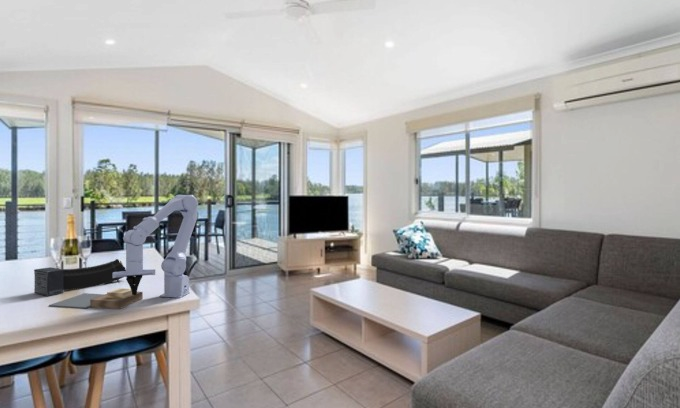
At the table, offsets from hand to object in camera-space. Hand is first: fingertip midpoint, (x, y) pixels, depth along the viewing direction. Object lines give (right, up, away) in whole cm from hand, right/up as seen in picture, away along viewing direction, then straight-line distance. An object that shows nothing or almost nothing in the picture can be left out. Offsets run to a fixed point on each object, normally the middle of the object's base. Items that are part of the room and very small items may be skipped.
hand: (134, 294), depth 137 cm
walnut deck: (-7, -4, +1) cm, 8 cm away
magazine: (-35, -3, +24) cm, 43 cm away
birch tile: (-6, -1, +1) cm, 6 cm away
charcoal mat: (-22, -4, +3) cm, 22 cm away
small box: (-44, -3, +13) cm, 46 cm away
